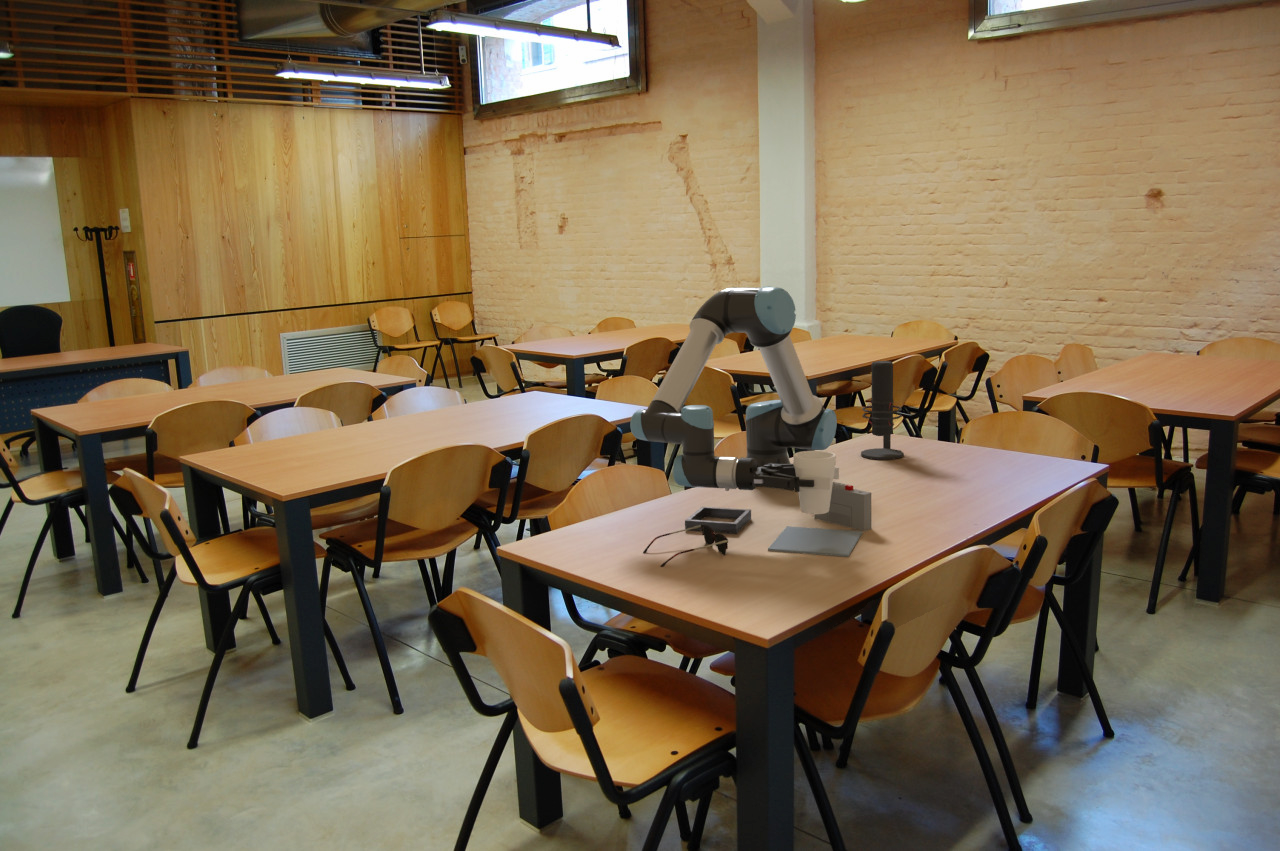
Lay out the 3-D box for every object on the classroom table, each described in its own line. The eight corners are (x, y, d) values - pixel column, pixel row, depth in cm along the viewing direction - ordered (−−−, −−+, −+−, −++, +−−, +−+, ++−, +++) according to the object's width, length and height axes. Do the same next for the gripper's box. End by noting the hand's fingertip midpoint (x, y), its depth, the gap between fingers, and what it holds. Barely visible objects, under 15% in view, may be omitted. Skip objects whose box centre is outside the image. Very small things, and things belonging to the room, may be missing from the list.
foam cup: (842, 508, 221) (842, 452, 219) (826, 518, 213) (826, 460, 211) (803, 503, 226) (803, 449, 224) (787, 513, 218) (786, 457, 216)
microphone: (852, 452, 311) (851, 360, 306) (889, 448, 315) (890, 358, 309) (873, 461, 298) (873, 365, 292) (912, 457, 301) (912, 362, 295)
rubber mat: (787, 528, 233) (787, 526, 233) (862, 533, 226) (862, 531, 226) (768, 550, 216) (767, 548, 216) (848, 557, 210) (848, 554, 210)
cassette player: (871, 529, 229) (871, 488, 227) (864, 531, 228) (863, 490, 226) (821, 516, 242) (821, 478, 240) (814, 518, 240) (813, 479, 238)
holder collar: (702, 515, 247) (701, 506, 246) (751, 519, 242) (751, 509, 241) (685, 530, 235) (684, 520, 234) (736, 534, 230) (736, 523, 229)
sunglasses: (730, 559, 213) (728, 537, 212) (663, 574, 208) (661, 552, 207) (704, 542, 226) (702, 522, 225) (640, 556, 221) (638, 536, 220)
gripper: (751, 478, 236) (843, 483, 227) (724, 500, 216) (824, 506, 207) (751, 448, 234) (843, 452, 226) (723, 468, 214) (824, 472, 206)
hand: (834, 478), depth 217 cm, fingers closed on foam cup, 9 cm apart
